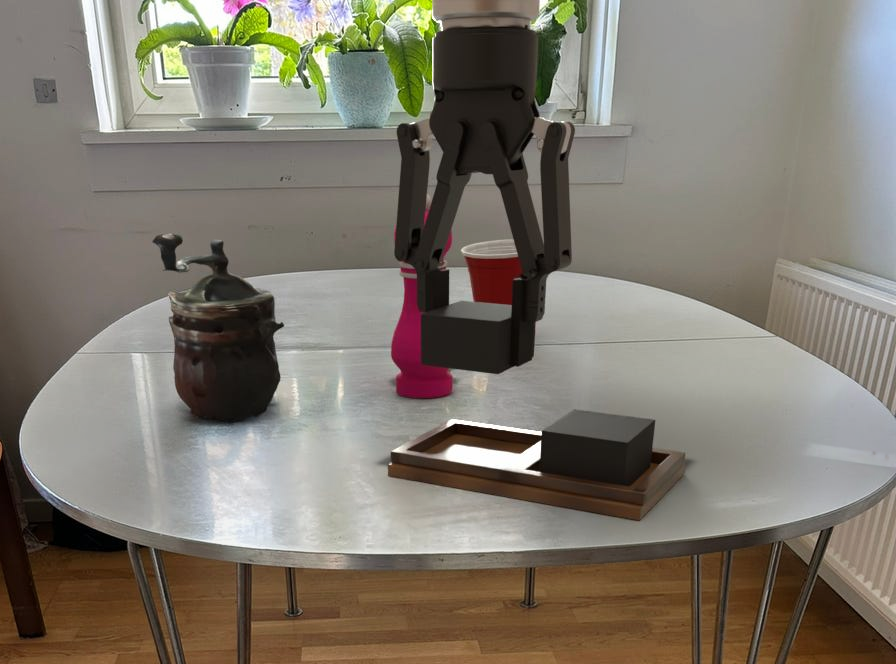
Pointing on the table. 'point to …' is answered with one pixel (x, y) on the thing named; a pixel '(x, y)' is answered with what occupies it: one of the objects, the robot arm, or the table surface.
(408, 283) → the pepper mill
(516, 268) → the plastic cup
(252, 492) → the table surface
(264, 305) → the coffee grinder
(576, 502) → the divided wooden tray
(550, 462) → the black square block
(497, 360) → the dark grey square block
